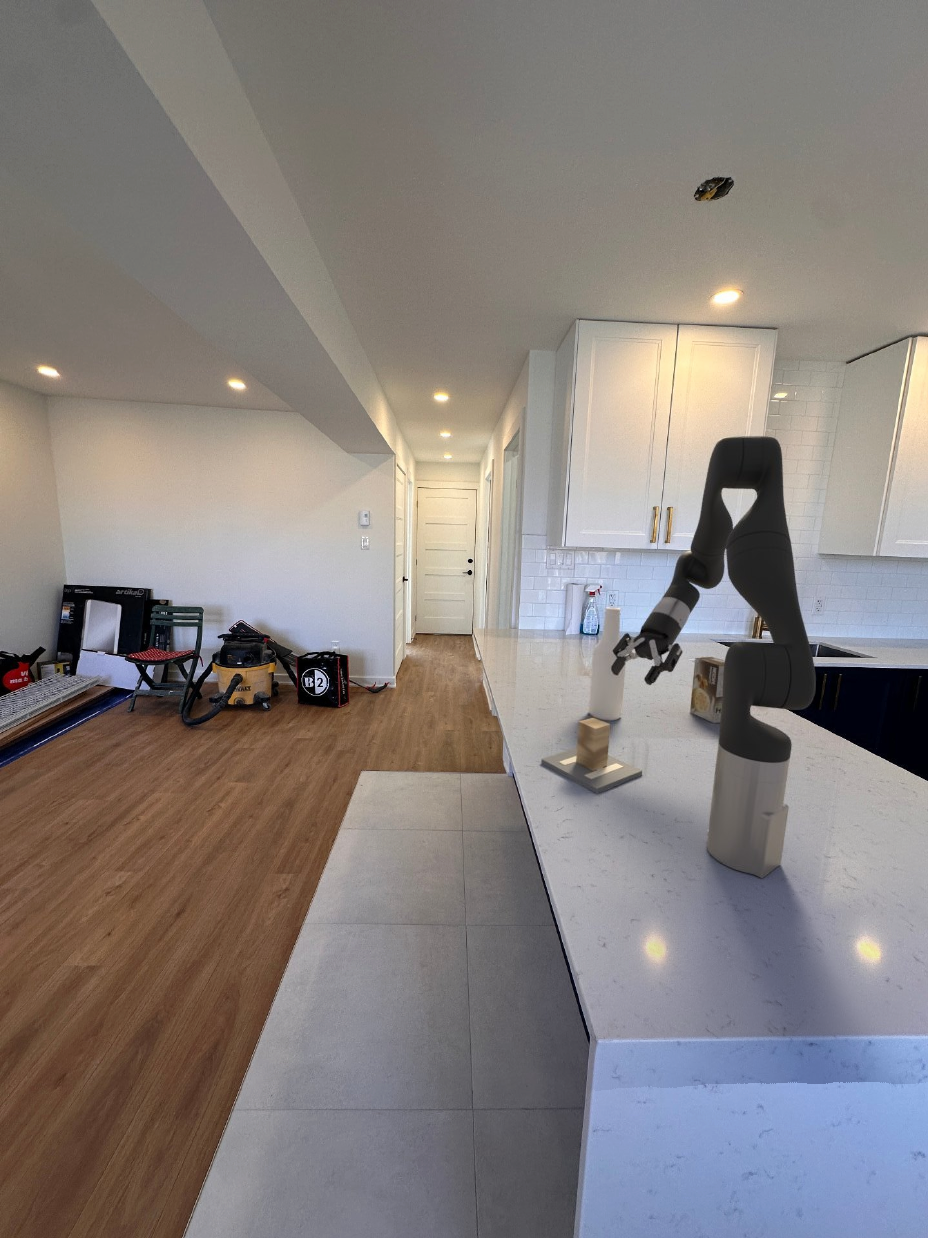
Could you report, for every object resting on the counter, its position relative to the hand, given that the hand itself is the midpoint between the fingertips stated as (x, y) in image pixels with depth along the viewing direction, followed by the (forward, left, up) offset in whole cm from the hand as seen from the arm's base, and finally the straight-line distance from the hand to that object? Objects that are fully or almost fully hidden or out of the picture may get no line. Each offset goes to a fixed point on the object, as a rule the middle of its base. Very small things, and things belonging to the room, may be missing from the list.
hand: (630, 677), depth 107 cm
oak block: (0, +11, -17) cm, 20 cm away
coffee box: (+4, -43, -18) cm, 47 cm away
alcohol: (+20, -18, -18) cm, 33 cm away
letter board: (0, +11, -18) cm, 21 cm away
